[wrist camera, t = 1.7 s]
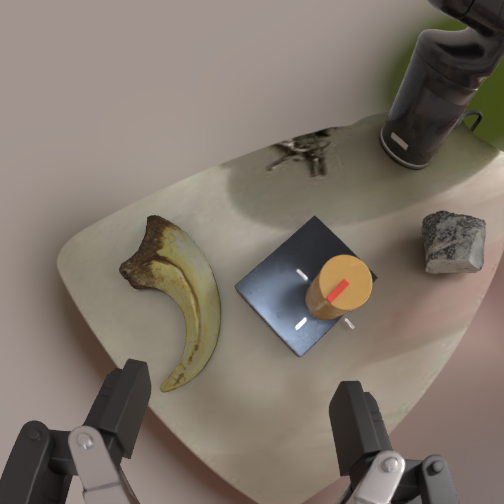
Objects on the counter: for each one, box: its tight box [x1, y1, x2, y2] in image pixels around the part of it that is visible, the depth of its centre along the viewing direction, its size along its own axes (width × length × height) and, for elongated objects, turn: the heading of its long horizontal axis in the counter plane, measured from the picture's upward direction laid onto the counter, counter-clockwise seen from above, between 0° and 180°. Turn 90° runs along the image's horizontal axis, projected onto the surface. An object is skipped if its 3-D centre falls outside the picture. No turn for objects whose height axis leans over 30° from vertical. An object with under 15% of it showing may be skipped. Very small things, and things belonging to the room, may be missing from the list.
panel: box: [235, 216, 377, 357], centre depth 30 cm, size 12×12×3 cm
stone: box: [422, 211, 486, 274], centre depth 29 cm, size 10×10×10 cm
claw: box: [119, 215, 220, 393], centre depth 30 cm, size 20×10×3 cm, turn 23°
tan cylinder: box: [305, 255, 372, 320], centre depth 25 cm, size 4×4×8 cm
